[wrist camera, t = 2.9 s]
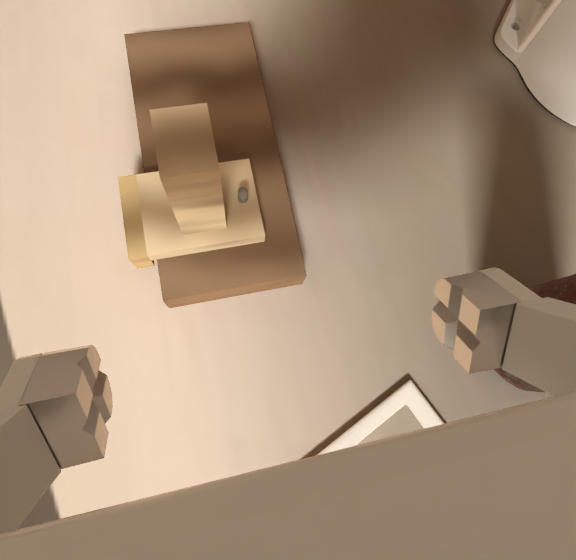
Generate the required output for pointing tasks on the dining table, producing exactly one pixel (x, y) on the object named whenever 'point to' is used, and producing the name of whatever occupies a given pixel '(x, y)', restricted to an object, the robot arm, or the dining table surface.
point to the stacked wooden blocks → (188, 193)
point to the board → (218, 153)
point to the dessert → (383, 411)
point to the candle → (562, 289)
